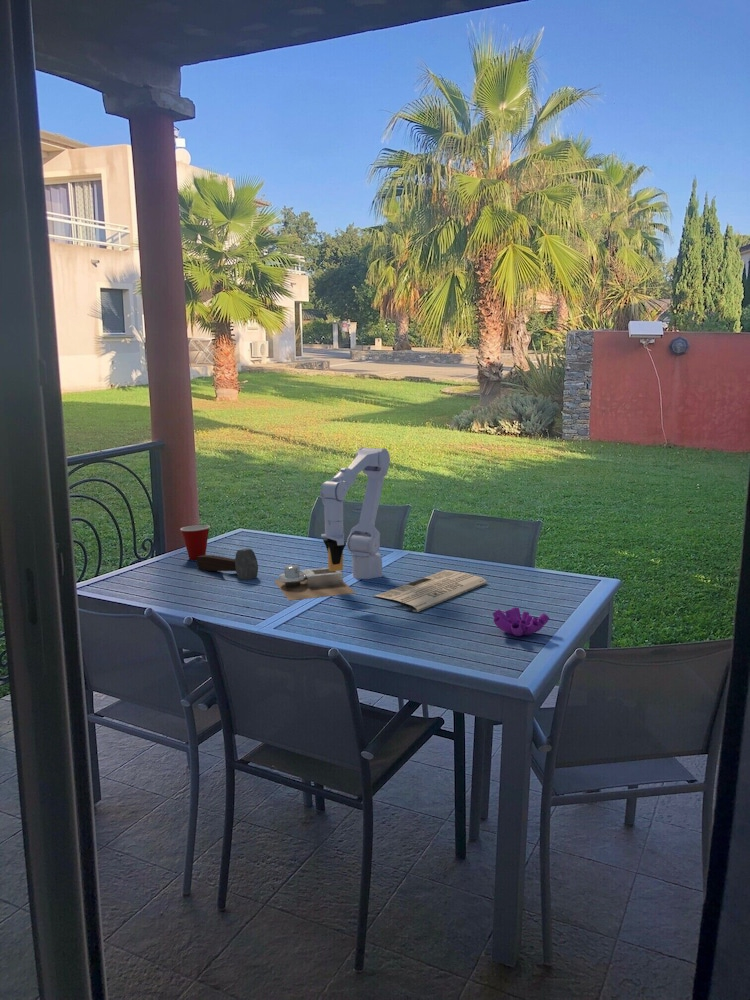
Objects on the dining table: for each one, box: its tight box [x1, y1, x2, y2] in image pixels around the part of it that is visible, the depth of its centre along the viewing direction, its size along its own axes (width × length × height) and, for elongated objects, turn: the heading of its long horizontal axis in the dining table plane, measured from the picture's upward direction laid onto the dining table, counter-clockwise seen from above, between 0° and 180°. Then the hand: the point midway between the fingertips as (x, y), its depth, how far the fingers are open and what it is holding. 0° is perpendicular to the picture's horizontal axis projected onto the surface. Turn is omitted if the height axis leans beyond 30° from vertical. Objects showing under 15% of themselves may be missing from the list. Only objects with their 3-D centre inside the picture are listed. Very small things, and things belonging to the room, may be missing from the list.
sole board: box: [274, 579, 356, 602], centre depth 249 cm, size 21×22×2 cm
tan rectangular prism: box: [327, 547, 344, 571], centre depth 244 cm, size 4×2×7 cm, turn 109°
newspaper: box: [372, 569, 488, 613], centre depth 246 cm, size 37×19×3 cm, turn 139°
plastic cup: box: [179, 524, 211, 561], centre depth 290 cm, size 11×11×12 cm
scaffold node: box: [278, 564, 344, 587], centre depth 252 cm, size 20×9×6 cm, turn 109°
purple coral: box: [492, 606, 550, 637], centre depth 209 cm, size 11×15×10 cm
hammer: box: [196, 547, 259, 581], centre depth 267 cm, size 5×11×30 cm
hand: (334, 562), depth 244 cm, fingers closed on tan rectangular prism, 2 cm apart
